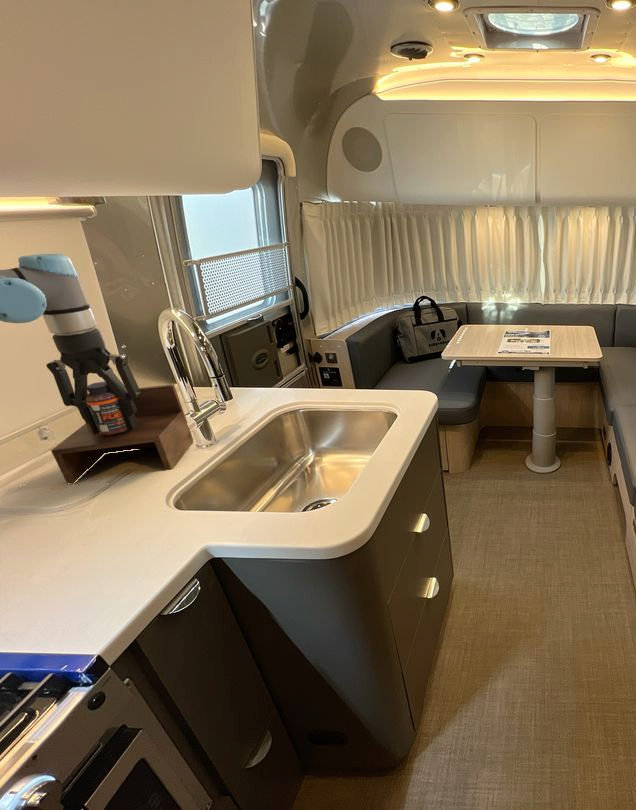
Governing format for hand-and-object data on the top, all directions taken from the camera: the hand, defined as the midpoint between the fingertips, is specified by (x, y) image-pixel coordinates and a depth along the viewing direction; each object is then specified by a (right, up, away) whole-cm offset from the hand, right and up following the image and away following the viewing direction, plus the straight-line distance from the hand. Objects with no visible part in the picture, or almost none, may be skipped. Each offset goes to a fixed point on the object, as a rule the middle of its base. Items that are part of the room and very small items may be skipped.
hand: (116, 429), depth 110 cm
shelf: (0, -8, +5) cm, 10 cm away
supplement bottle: (0, 0, 0) cm, 0 cm away
